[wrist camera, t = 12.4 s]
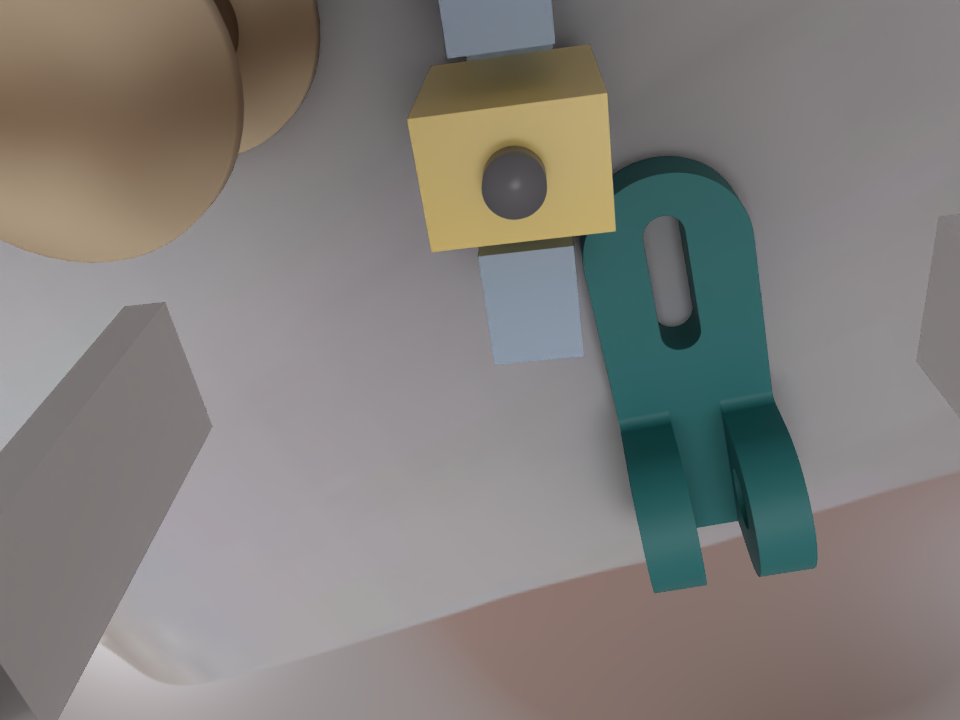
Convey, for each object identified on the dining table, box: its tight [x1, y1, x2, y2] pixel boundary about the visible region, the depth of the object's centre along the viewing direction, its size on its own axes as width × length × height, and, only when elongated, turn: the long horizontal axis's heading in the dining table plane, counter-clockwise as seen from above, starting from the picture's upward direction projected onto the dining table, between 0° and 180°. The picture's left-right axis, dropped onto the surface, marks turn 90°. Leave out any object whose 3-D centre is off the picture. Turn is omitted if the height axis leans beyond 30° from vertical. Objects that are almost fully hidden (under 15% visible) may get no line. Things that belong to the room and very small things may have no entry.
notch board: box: [438, 0, 584, 365], centre depth 28 cm, size 14×3×9 cm, turn 8°
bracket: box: [580, 156, 817, 593], centre depth 35 cm, size 18×7×8 cm, turn 15°
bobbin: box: [0, 0, 320, 263], centre depth 27 cm, size 10×10×11 cm
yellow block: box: [407, 44, 616, 252], centre depth 26 cm, size 4×6×8 cm
